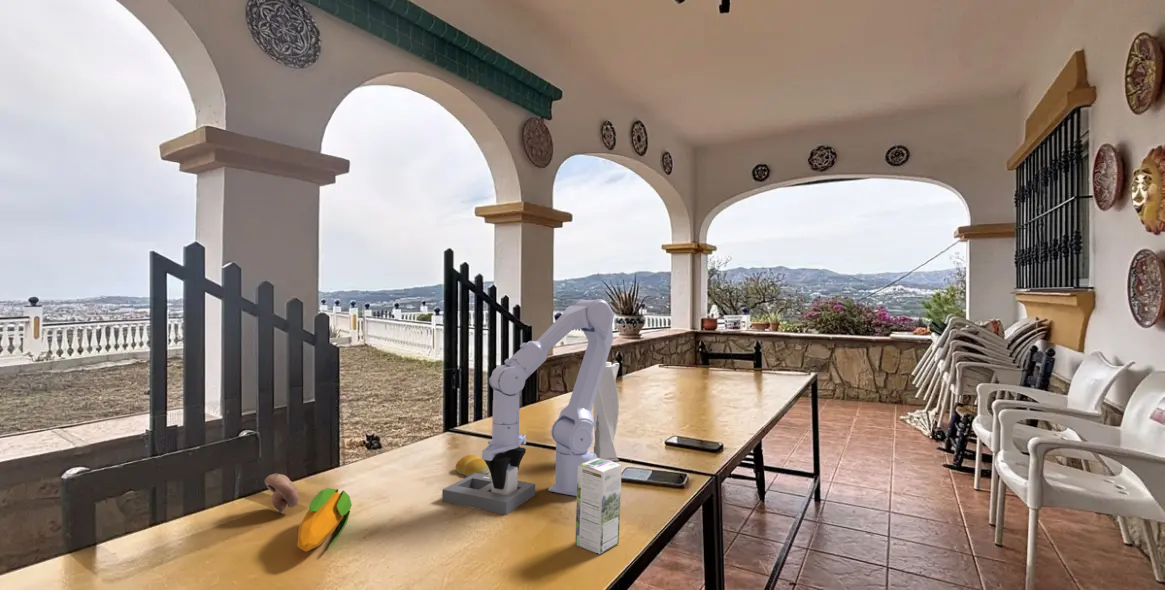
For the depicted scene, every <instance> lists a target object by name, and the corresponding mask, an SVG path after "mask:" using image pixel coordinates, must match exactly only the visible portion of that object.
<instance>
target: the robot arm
mask: <svg viewBox="0 0 1165 590" xmlns="http://www.w3.org/2000/svg"><path fill="white" fill-rule="evenodd" d="M614 317H615V313H614V312H613V310H612V308H611V305H610V304H609V303H608V302H607V301H605V300H604V299H600V298H599V299H584V298H579V299H577V300H575V301H573V302H572V304H571V305H569V306H568V307H566V308H565V309H564V311H563V313H562V314H561V315H560V316H559V317H558V318H557V319H556V320H555V321H554V323H551V325H550V326H549V328H547V329H546V331H544V333H543V334H542V335H541V336H540V337H539V338H538V339H537V340H529V341H528V342H522V343H521V344H520V345H519V347H520V349H519V350H517V351H516V352H515V353H514V354H513V355H512V356H511V357H510V358H505V360H504V364H501V365H499V366H497V367H496V368H494V369H493V370H492V373H491V376H490V377H489V378H488V381H489V385H490V387H491V388H492V389H493V395H492V396H493V397H492V399H493V400H492V428H491V431H492V433H491V434H492V435H491V438H492V439H490V440H488V441H487V444H488V445H487V447H486V448H484V449H483V450H481V452H482V455H481V456H482V457H481V458H482V459H483V460H484V461H485V462H486V464H487V466H488V468H489V471H490V473H489V474H490V476H491V477H492V482H493V486H494V488H495V489H501V490H502V489H504V485H505V478H506V471H507V467H508V464H509V463H510V466H514V467H518V469H519V468H520V465H521V462H522V460H523V457H524V455H526V452H527V451H526V450H527V449H526V448H525V447H520V446H521V445H522V446H523V445H526V444H527V434H520V399H521V398H520V396H521V393H520V391H522V390H523V389H524V387H525V384H526V380H527V379H528V378H529V377H530V376H531V375H532V374H533V373H534V372H535V371H536V370H537V369H538V368H539V367H541V366H542V364H544V362H546V361H547V358H548V357H547V356H548V351H550V350H551V349H552V348H553V347H554V346H556V344H558V343H559V342H560V341H561V340H563V338H565V337H566V336H567V335H568V334H569V333H570V332H571V331H573V330H579V329H580V330H581V331H582V333H583V334H584V335H585V338H586V339H587V342H588V343H587V346H586V349H585V352H584V355H583V357H582V358H583V359H582V361H581V365H580V367H579V371H578V374H577V377H576V380H575V384H574V385H573V386H574V387H573V389H572V393H571V395H570V399H569V402H568V405H567V406H565V407H564V408H562V410H561V411H560V414H559V416H558V418H557V419H556V420H555V421H554V422H553V425H552V426H551V433H550V434H551V437H552V439H553V440H554V441H555V477H554V478H555V482H554V484H552V486H550V487H549V488H548V490H547V491H549V492H552V493H553V492H554V493H558V494H562V495H563V494H564V495H569V496H572V497H573V496H574V497H577V478H578V465H580V464H583V463H586V462H588V461H591V460H594V459H597V455H596V454H594V452H590V451H589V449H590V448H591V446H592V444H593V440H594V433H593V432H594V431H593V430H594V417H593V416H592V410H593V403H594V400H595V396H596V393H597V390H598V387H599V384H600V380H601V377H602V374H603V371H604V368H605V364H606V362H608V357H609V354H610V351H611V348H612V344H613V341H614V334H613V333H614V332H613V320H614Z"/></svg>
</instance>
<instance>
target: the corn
mask: <svg viewBox="0 0 1165 590" xmlns="http://www.w3.org/2000/svg"><path fill="white" fill-rule="evenodd" d="M352 505H353V504H352V500H351V496H350V495H349V494H348V493H347V492H346V491H345V490H342V491H341V492H340V493H339V488H331V487H330V488H329V487H327V488H325V489H322V490H320V491H319V492H318V493H317V494H316V495H315V496H314V497H313V498H312V499H311V501H310V503H309V507H308V511H307V512H306V514H305V515H304V517H303V519H302V521H301V523H300V524H299V526H298V533H297V546H296V547H297V548H299V549H300V550H302V551H304V552H308V551H311V550H312V549H315V548H317V547H319V546H321V544H322V543H324V542H325V541H326V540H327V539H328V538H329V537H330V536H331V535H332V534H333V533H334V532H335V530H336V528H337V527H338V529H337V531H336V534H335V537H334V538H333V539H332V541H331V542H330V544H329V546H328V547H327V548H326V549H325V550H324V551H325V552H326V551H328V550H329V549H330V547H332V545H334V543H335V542H336V541H337V539H338V537H339V536H340V535H341V533H342V531H343V530H344V529H345V527H346V526H347V524H348V520H349V516H350V512H351V509H352V508H351V507H352Z"/></svg>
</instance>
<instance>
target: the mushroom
mask: <svg viewBox="0 0 1165 590" xmlns="http://www.w3.org/2000/svg"><path fill="white" fill-rule="evenodd" d="M264 484H265V486H266V487H267V489H268V490H269V491H270V492H272V497H271V503H272V504H273V507H274V508H275V509H276V510H277V511H278V513H282V512H283V511H284V510H286V508H290V509H291V508H294V507H296V506H297V505H298V503H299V501H300V495H299V491H298V490H299V489H298V487H297V486H296V484H295V483H294V482H293V481H292V480H290V478H289V477H288V475H287V476H286V475H285V474H282V473H281V474H280V473H273V474H269V475H268V476H267V477H266V478H265V479H264Z"/></svg>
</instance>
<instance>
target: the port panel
mask: <svg viewBox="0 0 1165 590" xmlns="http://www.w3.org/2000/svg"><path fill="white" fill-rule="evenodd" d="M491 489H492V477H491V474H490V475H489V474H487V475H484V474H479V473H474V474H472V475H470V476H465V477H464V478H462V479H460V480H459V481H457V482H454V483H452V484H450V485H449V486H446V487H445V488H442V491H441V492H442V495H441V497H442V499H441V501H442V502H445V503H449V504H454V505H459V506H462V507H463V506H464V507H469V508H473V509H478V510H483V511H486V512H492V513H496V514H501V515H505V516H506V515H508V514H509V513H511V512H512V511H514V510H515V509H517V508H518V507H520V506H522V505H523V504H524V503H526V502H527V501H528V500H530V499H531V498H533V497H534V496H536V483H535V482H534V483H533V482H528V481H522V480H517V491H515V492H514V493H512V494H511V495H509V496H508V495H503V494H498V493H492V492H491Z"/></svg>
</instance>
